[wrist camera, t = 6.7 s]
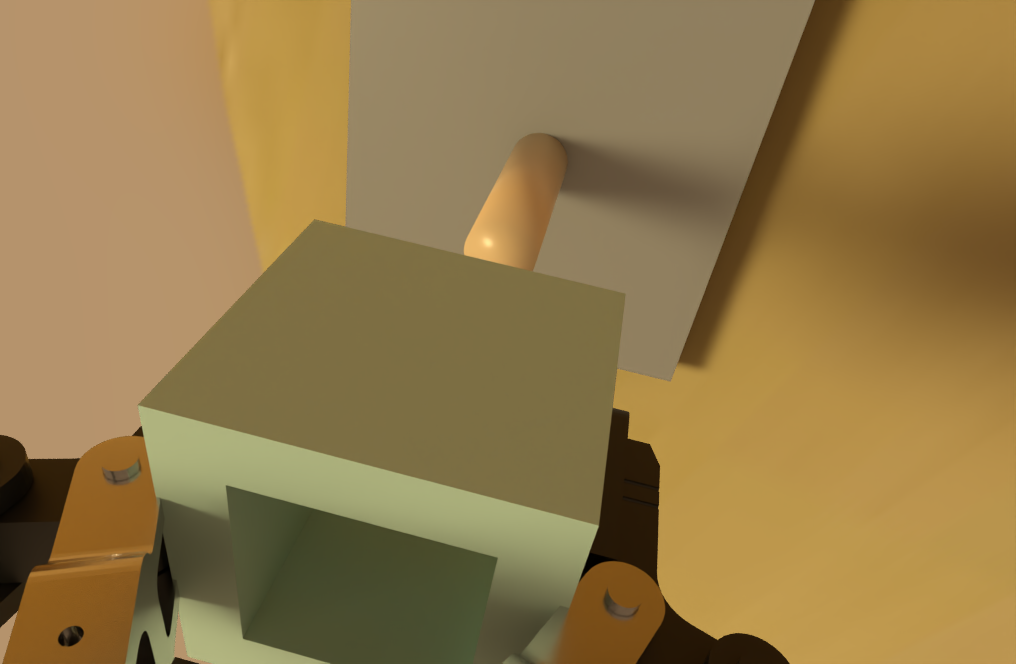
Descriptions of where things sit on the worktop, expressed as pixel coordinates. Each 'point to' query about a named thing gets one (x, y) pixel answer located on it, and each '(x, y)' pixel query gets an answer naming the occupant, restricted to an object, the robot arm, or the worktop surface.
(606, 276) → the board
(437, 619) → the collar
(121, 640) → the robot arm
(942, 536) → the worktop surface
